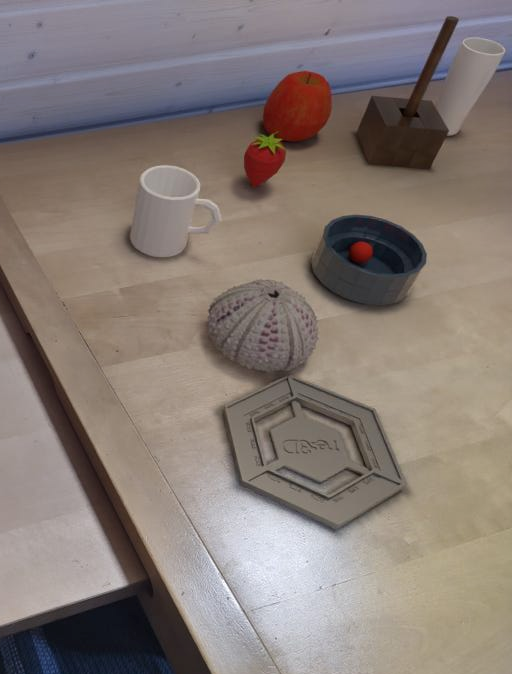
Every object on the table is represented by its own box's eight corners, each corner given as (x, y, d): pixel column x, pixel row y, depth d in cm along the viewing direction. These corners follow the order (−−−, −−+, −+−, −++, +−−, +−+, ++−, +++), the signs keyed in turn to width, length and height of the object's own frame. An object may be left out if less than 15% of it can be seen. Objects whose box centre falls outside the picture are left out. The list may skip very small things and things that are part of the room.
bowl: (395, 250, 103) (411, 219, 99) (420, 313, 94) (439, 281, 90) (303, 242, 103) (315, 210, 99) (319, 303, 94) (333, 271, 90)
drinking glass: (414, 127, 128) (454, 43, 117) (432, 116, 131) (473, 33, 120) (450, 143, 124) (495, 58, 113) (468, 131, 127) (513, 47, 116)
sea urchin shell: (289, 398, 83) (312, 351, 77) (183, 350, 87) (197, 302, 82) (324, 332, 91) (347, 285, 85) (225, 291, 95) (240, 243, 89)
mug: (198, 275, 97) (215, 216, 90) (120, 244, 101) (130, 185, 94) (220, 245, 102) (237, 186, 95) (144, 216, 106) (155, 158, 99)
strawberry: (281, 182, 114) (301, 125, 106) (263, 204, 109) (282, 146, 102) (247, 170, 116) (264, 112, 108) (228, 190, 111) (244, 132, 104)
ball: (365, 255, 101) (373, 238, 99) (369, 268, 99) (378, 251, 97) (343, 253, 101) (351, 236, 99) (348, 266, 99) (356, 249, 97)
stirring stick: (395, 148, 122) (457, 16, 106) (398, 153, 121) (460, 21, 105) (385, 147, 122) (444, 15, 106) (387, 153, 121) (448, 20, 105)
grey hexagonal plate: (358, 381, 85) (361, 376, 84) (421, 531, 71) (424, 526, 71) (214, 377, 84) (216, 372, 84) (250, 527, 71) (252, 523, 70)
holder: (413, 138, 125) (431, 100, 120) (429, 169, 118) (449, 130, 113) (356, 133, 125) (371, 95, 120) (368, 163, 119) (385, 125, 113)
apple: (310, 156, 119) (332, 96, 112) (249, 136, 123) (266, 77, 115) (328, 129, 126) (350, 70, 118) (269, 111, 129) (287, 53, 122)
